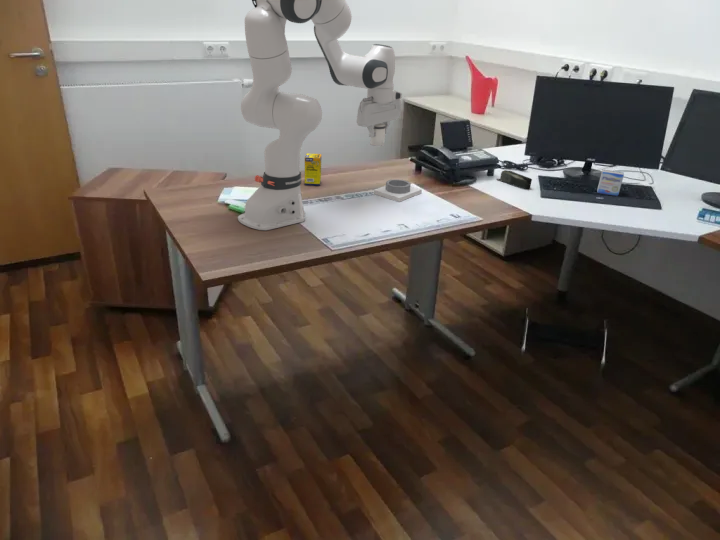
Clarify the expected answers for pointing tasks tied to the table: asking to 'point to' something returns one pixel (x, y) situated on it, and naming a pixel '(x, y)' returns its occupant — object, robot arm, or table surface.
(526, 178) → the dark green long block
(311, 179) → the supplement box
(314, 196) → the table surface
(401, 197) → the collar mount
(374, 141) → the lens cylinder
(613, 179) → the medicine box
